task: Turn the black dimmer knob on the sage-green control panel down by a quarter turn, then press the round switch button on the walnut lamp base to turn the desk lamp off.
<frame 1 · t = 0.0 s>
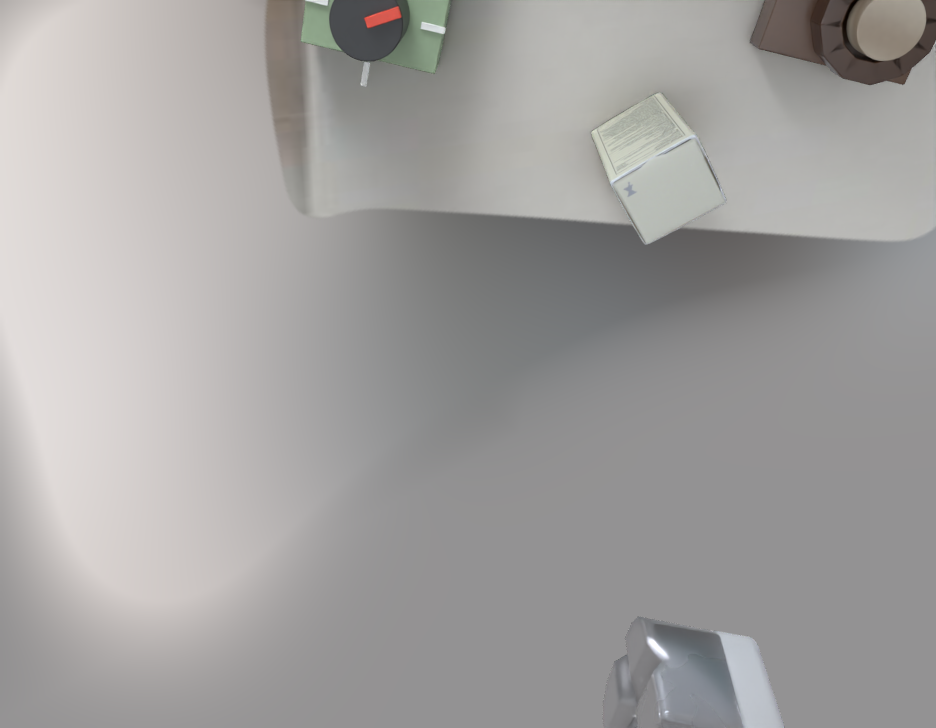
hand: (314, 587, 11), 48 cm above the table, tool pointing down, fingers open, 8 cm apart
dimmer knob: (370, 18, 48), point 5 cm above the table, hinge at 120.0°
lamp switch: (885, 23, 48), point 4 cm above the table, slide at 0.1 cm
box: (640, 137, 56), on the table
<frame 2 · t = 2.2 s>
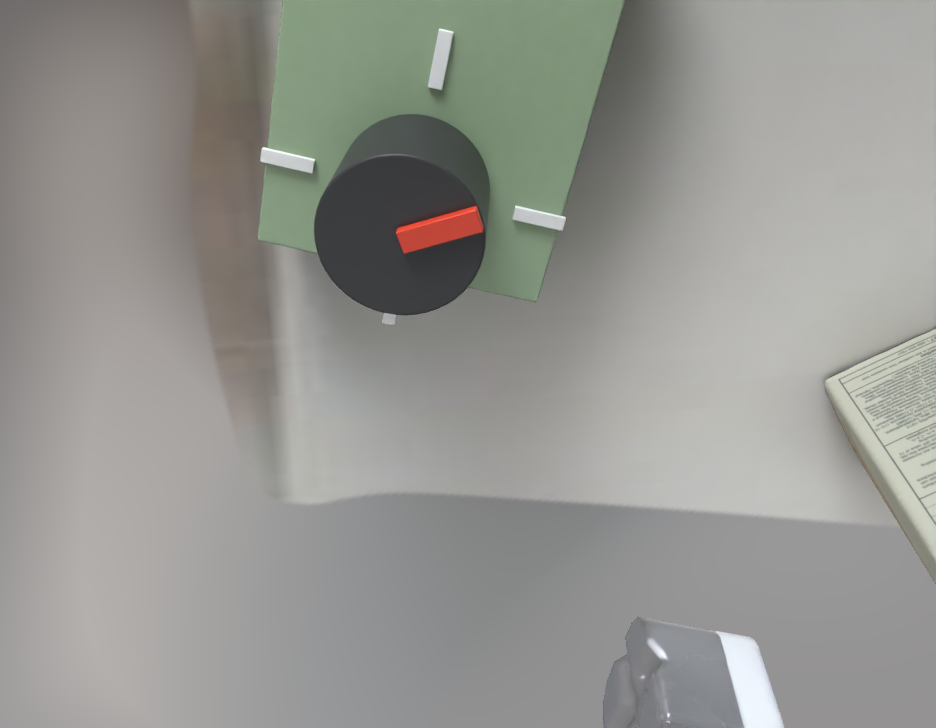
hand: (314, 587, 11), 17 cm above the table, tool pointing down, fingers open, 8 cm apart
dimmer panel: (446, 52, 24), on the table
dimmer knob: (406, 214, 22), point 5 cm above the table, hinge at 120.0°
box: (916, 388, 29), on the table
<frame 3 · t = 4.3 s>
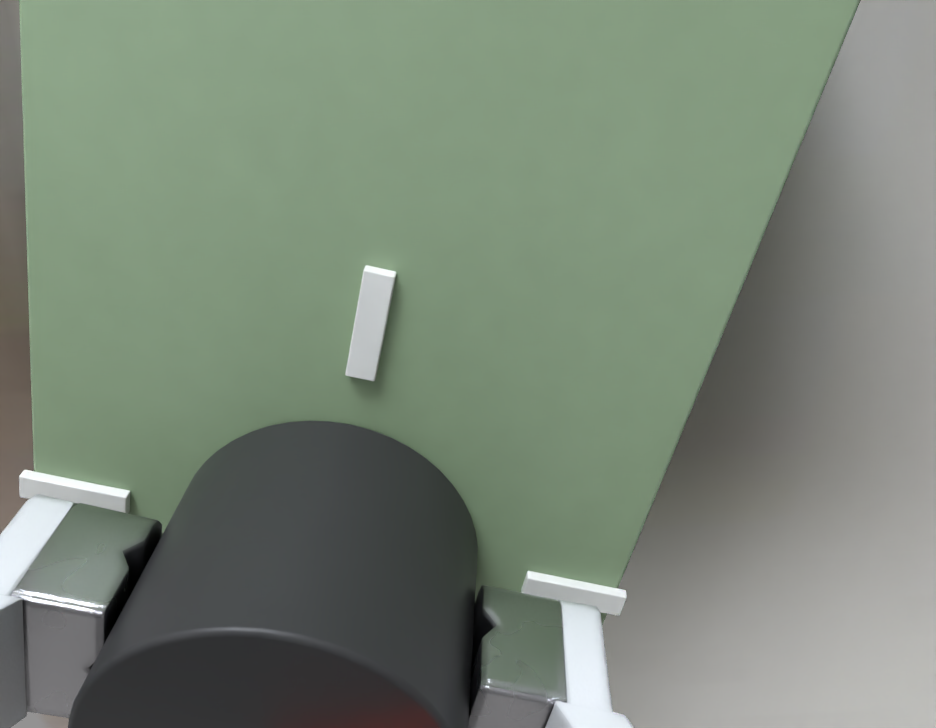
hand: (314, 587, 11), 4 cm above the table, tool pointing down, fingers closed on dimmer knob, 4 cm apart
dimmer panel: (395, 255, 13), on the table
dimmer knob: (299, 652, 10), point 5 cm above the table, hinge at 120.0°, touching gripper
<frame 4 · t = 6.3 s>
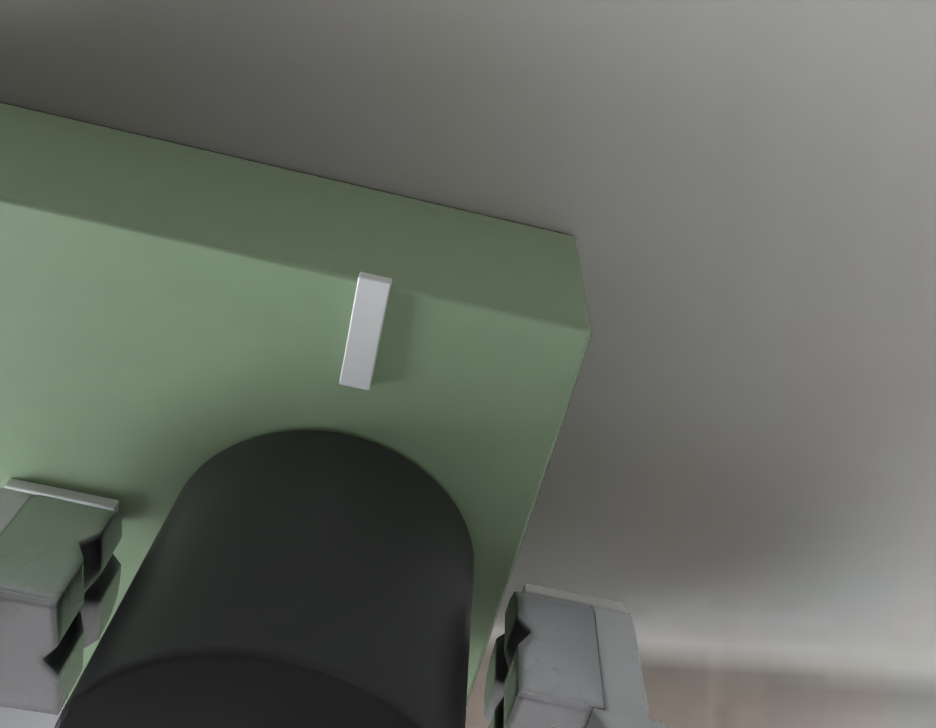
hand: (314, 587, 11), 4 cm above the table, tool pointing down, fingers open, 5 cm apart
dimmer panel: (174, 387, 14), on the table
dimmer knob: (291, 668, 10), point 5 cm above the table, hinge at 25.5°
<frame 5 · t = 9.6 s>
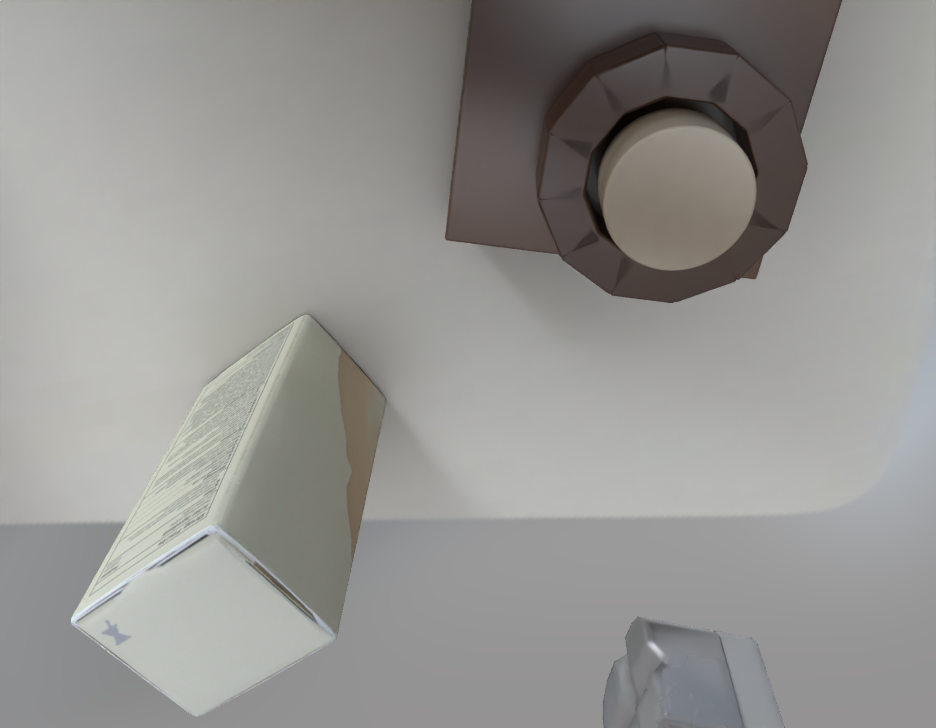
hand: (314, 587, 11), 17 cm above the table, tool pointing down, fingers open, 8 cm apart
lamp base: (636, 27, 24), on the table
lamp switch: (673, 190, 22), point 4 cm above the table, slide at 0.1 cm
box: (298, 387, 30), on the table
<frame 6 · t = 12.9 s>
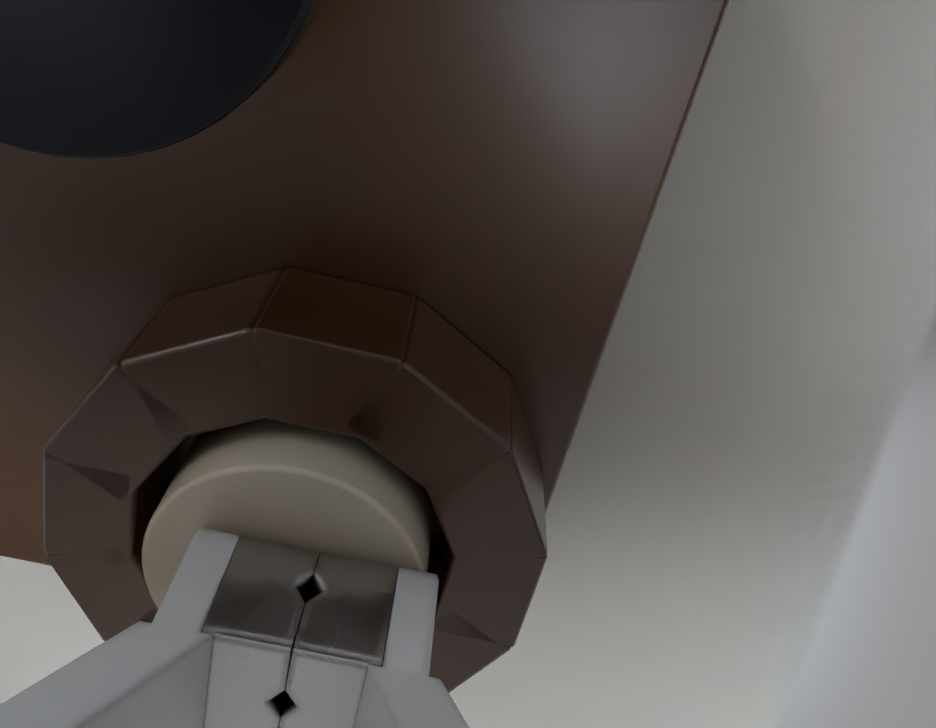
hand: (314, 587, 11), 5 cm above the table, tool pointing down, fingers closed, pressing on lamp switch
lamp base: (308, 220, 13), on the table
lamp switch: (297, 536, 12), point 4 cm above the table, slide at -0.8 cm, touching gripper
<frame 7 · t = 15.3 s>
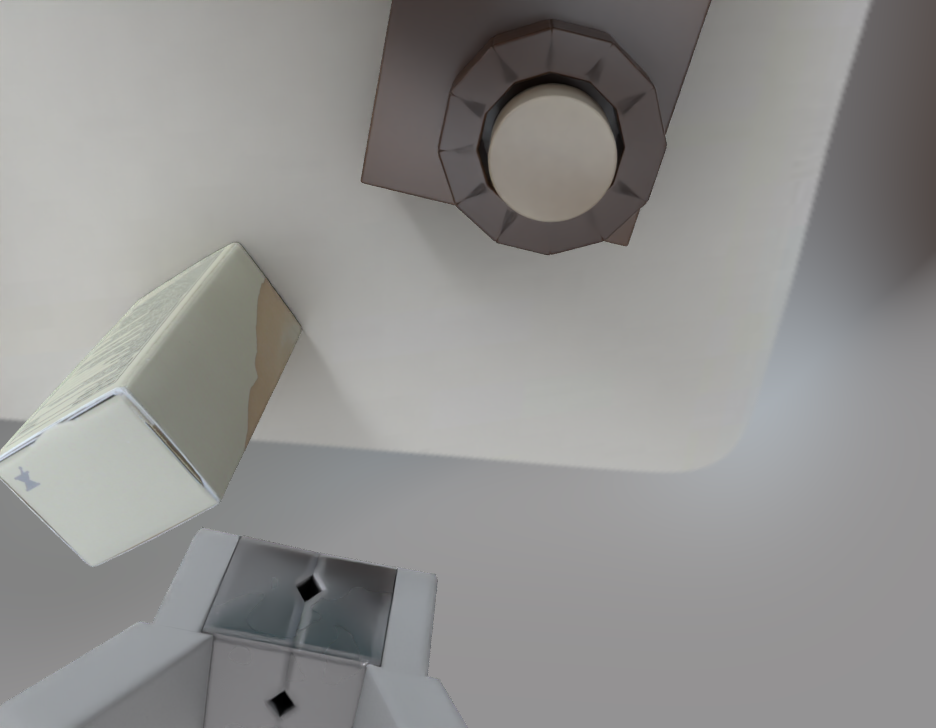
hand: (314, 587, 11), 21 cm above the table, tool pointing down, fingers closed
lamp base: (542, 15, 28), on the table
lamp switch: (551, 153, 25), point 4 cm above the table, slide at 0.1 cm
box: (224, 310, 33), on the table
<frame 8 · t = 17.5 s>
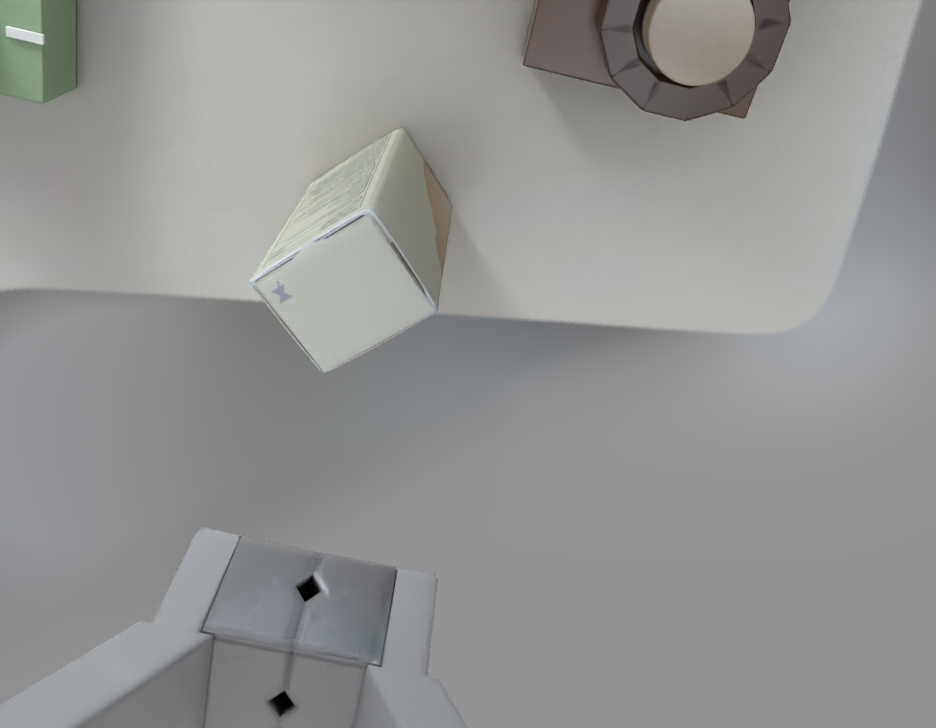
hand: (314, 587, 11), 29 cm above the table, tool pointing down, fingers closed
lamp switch: (696, 28, 31), point 4 cm above the table, slide at 0.1 cm
box: (384, 191, 39), on the table
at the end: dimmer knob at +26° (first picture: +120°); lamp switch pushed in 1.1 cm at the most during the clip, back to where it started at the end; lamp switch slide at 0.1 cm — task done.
